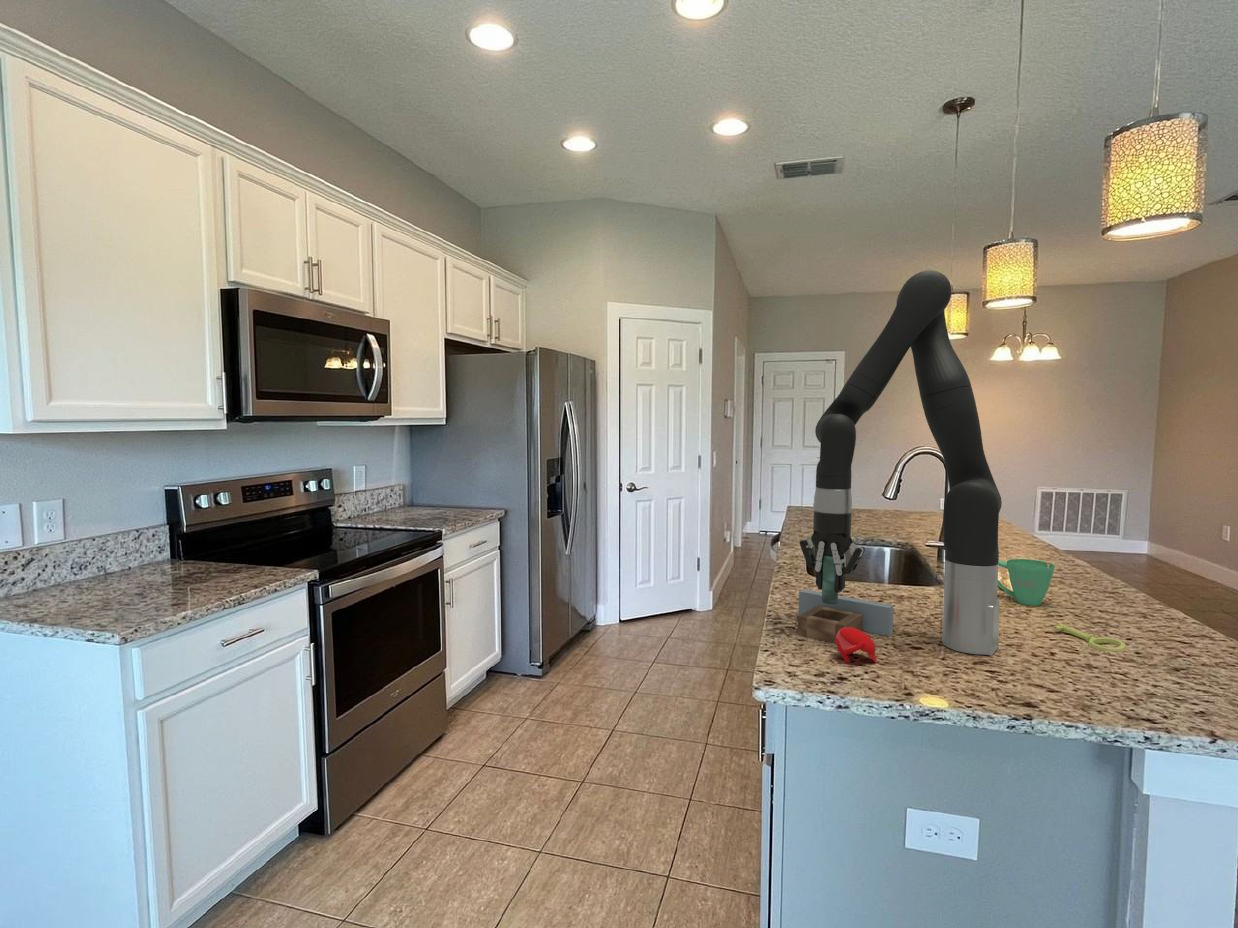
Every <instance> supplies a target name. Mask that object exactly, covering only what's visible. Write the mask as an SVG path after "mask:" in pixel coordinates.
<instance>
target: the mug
mask: <svg viewBox="0 0 1238 928" xmlns="http://www.w3.org/2000/svg"><path fill="white" fill-rule="evenodd" d="M999 566H1000V567H1002V568H1004V569H1007V571H1008V575H1009V576H1008V577H1009V583H1010V585H1011V589H1012V590H1011V589H1010V588H1008V587H1006V586H1004V585H1003V584H1002V583H1001V582H1000V580H999V579H998V588H997V589H998V590H999V591H1001V592H1002V593H1004V594H1006V595H1008V596H1010V597H1012V598H1013V599H1014V600H1016V602H1017V603H1018V604H1020V605H1024V606H1031V607H1038V606H1041V604H1042V602H1043V601H1044V600H1045V597H1046V595H1047V592H1048V590H1049V588H1050V586H1051V580H1052V578H1053V575H1054V571H1055V568H1056V567H1055V565H1054V564H1053V563H1049V565H1048V563H1047V561H1044V560H1043V561H1042V560H1037V559H1031V558H1030V559H1029V558H1026V559H1025V558H1012V559H1011V558H1010V559H1008V560H1006V561H1004V560H1001V559H999V562H998V567H999Z"/></svg>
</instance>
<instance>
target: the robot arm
mask: <svg viewBox="0 0 1238 928" xmlns="http://www.w3.org/2000/svg"><path fill="white" fill-rule="evenodd" d="M951 297H952V285H951V282H950V280H949V278H948V277H947V276H946V275H945V274H943V273H942V272H940V271H937V270H932V269H931V270H930V269H929V270H923V271H919V272H918V273H915V274H914V275H912V276H911V277H910V278H908V279H907V280H906V281H905V283H904V284H903V285H902V287H901V289H900V291H899V293H898V295H897V297H896V303H895V304H896V305H895V307H894V309H893V312H892V314H891V316H890V317H889V320H888V321H887V323H886V325H885V326H884V327H883V329H882V331H881V332H880V334H879V335H878V336H877V338H876V340H875V341H874V342H873V344H871V346H870V348H869V350H868V351H866V353H865V354H864V356H863V358H862V359H861V361H860V362H859V363H858V364H857V366H856V368H855V369H854V370H853V372H852V373H851V375H850V376H849V378H848V379H847V381H846V382H845V384H844V386H842V389H841V391H840V392H839V394H838V395H837V397H836V398H835V399H834V400H833V401H832V403H831V404H830V405H829V406H828V407H827V409H826V410H825V411H824V412H823V414H822V415H821V417H820V418H819V420H818V421H817V423H816V426H815V431H814V432H815V437H816V439H817V441H818V442H819V443H820V449H819V460H818V463H817V465H816V471H815V492H814V496H813V504H812V506H813V507H812V508H813V519H812V521H813V525H812V527H813V528H812V530H813V531H812V532H813V533H812V535H811V537H810V538H805V539H802V540H800V541H799V547H800V549H801V552H802V555H803V557H804V561H805V563H806V566H807V567H808V568H811V569H813V570H815V585H816V587H817V588H818V589H819V590H821V591H822V577H823V555H825V556H831V557H833V560H834V564H835V567H836V573H837V575H836V577H835V592H837V593H838V594H839V593H841V592H843V590H845V588H846V575H849V574H850V575H851V574H852V573H854V572H855V571H856V569H857V567H858V566H859V563H860V561H861V559H862V558H863V556H864V553H865V550H866V549H865V547H864V546H859V545H857V544H855V543H854V542H853V539H852V537H851V534H852V514H853V513H852V512H853V510H852V508H853V507H852V506H853V499H852V498H853V495H852V465H853V464H852V463H853V460H854V453H855V448H856V442H857V440H856V439H857V429H856V424H858V422H859V420H860V419H861V417H862V416H863V415H864V414H866V413H867V412H868V411H870V409H871V408H873V406H874V405H875V403H876V402H877V400H878V399H879V397H880V396H881V395H882V393H883V392H884V390H885V388H886V387H887V385H888V384H889V383H890V381H891V379H892V377H893V375H895V372H896V371H897V369H898V367H899V366H900V364H901V362H902V360H904V357H905V356H906V354H907V353H908V351H909V349H911V353H912V358H913V365H914V371H915V376H916V381H917V385H918V392H919V397H920V401H921V404H922V408H923V413H924V416H925V420H926V422H927V425H928V427H929V430H930V432H931V434H932V436H933V438H934V441H935V443H936V445H937V447H938V450H939V451H940V453H941V456H942V458H943V461H944V465H945V468H946V469H945V470H946V475H947V480H948V488H949V491H947V494H946V495H945V498H944V502H943V503H944V504H943V537H942V539H943V541H942V542H943V548H944V571H943V572H944V574H943V575H944V577H943V604H942V605H943V606H942V607H943V608H942V609H943V610H942V632H941V634H942V641H941V642H942V645H943V646H945V647H946V648H948V649H950V650H953V651H957V652H960V653H964V654H970V655H986V656H993V655H994V654H995V652H996V651H997V649H998V647H999V628H1000V627H999V625H1000V600H998V589H999V588H998V580H999V565H998V562H999V560H1000V559H999V556H1000V550H999V521H1000V520H999V517H1000V516H999V515H1000V511H1001V509H1002V496H1001V494H1000V490H999V489H998V486H997V484H996V482H995V480H994V477H993V474H992V471H991V469H990V466H989V463H988V461H987V457H986V455H985V451H984V446H983V436H982V429H981V423H980V417H979V413H978V409H977V408H978V406H977V403H976V398H975V395H974V391H973V387H972V384H971V380H970V378H969V376H968V373H967V371H966V369H965V366H964V365H963V364H962V361H961V360H960V358H959V356H958V355H957V353H956V351H955V350H954V348H953V346H952V343H951V340H950V337H949V332H948V326H947V322H946V313H945V309H946V308H947V307H948V305H949V303H950V301H951ZM813 547H815V549H816V551H817V554H816V555H815V553H814V552H815V551H814V550H813ZM849 550H850V555H851V556H850V559H849V561H848V563H847V564H846V562H847V557H846V553H847V552H848V551H849Z"/></svg>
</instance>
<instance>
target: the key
mask: <svg viewBox="0 0 1238 928" xmlns="http://www.w3.org/2000/svg"><path fill="white" fill-rule="evenodd" d="M1052 629H1056V631H1063V632H1065V633H1068V634H1070V635H1073V636H1076V637H1078V638H1080V639H1082V640H1085V641H1086V643H1087V642H1088V643H1087V646H1088V647H1090V649H1094V650H1097V651H1103V652H1121V651H1124V650H1126V648H1127V647H1126V644H1125V642H1123V641H1122V640H1119V639H1115V638H1112V637H1100V636H1099V637H1095V635H1094V634H1093V633H1089V634H1088V633H1085V632H1082V631H1080V630H1078V629H1076V628H1073V627H1070V626H1069V625H1066V624H1063V623H1058V624H1057V625H1053V627H1052ZM1099 644H1111V645H1117V647H1108V646H1102V645H1099Z"/></svg>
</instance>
